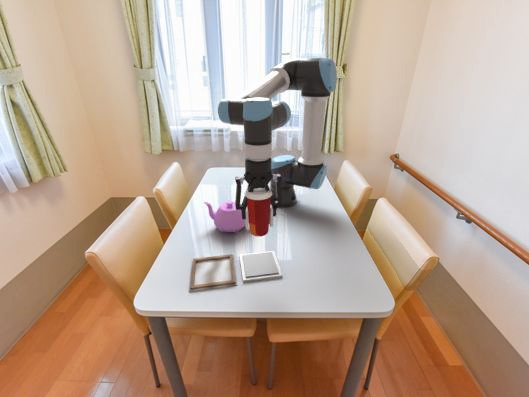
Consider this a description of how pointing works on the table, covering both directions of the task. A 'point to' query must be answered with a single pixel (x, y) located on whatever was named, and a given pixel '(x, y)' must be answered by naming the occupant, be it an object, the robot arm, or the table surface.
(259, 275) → the ink pad
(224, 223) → the teapot
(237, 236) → the table surface
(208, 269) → the wooden picture frame
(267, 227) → the coffee cup
